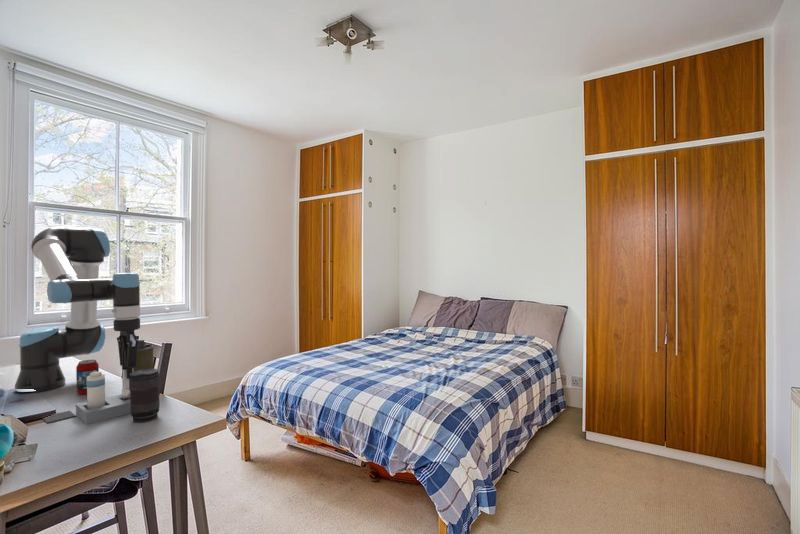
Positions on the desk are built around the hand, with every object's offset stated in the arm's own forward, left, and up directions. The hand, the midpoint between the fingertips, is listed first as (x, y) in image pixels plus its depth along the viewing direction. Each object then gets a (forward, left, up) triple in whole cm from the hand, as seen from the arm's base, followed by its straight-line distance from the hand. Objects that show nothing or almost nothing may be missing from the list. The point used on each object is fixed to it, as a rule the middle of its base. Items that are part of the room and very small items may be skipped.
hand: (128, 387), depth 138 cm
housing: (0, -5, -7) cm, 9 cm away
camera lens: (+15, 0, -7) cm, 17 cm away
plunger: (0, 0, -5) cm, 5 cm away
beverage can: (-31, -4, -7) cm, 32 cm away
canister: (-15, +8, -7) cm, 19 cm away
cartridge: (0, -9, -7) cm, 11 cm away
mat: (-8, -17, -7) cm, 20 cm away
